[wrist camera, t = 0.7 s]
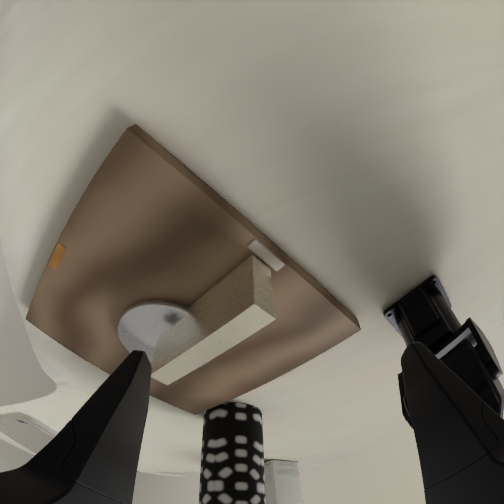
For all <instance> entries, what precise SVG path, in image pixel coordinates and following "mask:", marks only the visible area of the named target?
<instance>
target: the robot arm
mask: <svg viewBox="0 0 504 504" xmlns="http://www.w3.org/2000/svg"><path fill="white" fill-rule="evenodd" d="M384 316H385V318H386V319H387V320H388V321H389V322H390V324H391V325H392V326H393V327H394V328H395V329H396V330H397V331H398V332H399V334H400V335H401V336H402V337H403V338H404V341H405V343H406V345H407V348H406V350H405V351H404V353H403V355H402V357H401V366H402V372H401V373H400V374H398V380H399V389H400V396H401V404H402V412H403V416H404V418H405V420H406V421H407V422H408V423H409V425H410V426H411V427H412V428H413V429H414V433H415V438H416V443H417V448H418V453H419V459H420V465H421V470H422V477H423V483H424V489H425V491H424V492H425V500H426V504H504V419H503V410H504V389H503V387H502V385H501V383H500V381H499V379H498V377H499V376H500V375H501V374H502V370H501V367H500V365H499V362H498V360H497V358H496V355H495V353H494V350H493V348H492V346H491V345H490V343H489V341H488V340H487V338H486V337H485V335H484V333H483V332H482V331H481V329H480V328H479V327H478V326H477V325H476V324H475V323H474V321H473V320H472V319H471V318H470V317H469V318H468V319H467V320H466V321H465V323H464V324H463V325H462V326H461V324H460V323H459V321H458V319H457V318H456V316H455V314H454V313H453V311H452V310H451V304H450V302H449V300H448V298H447V295H446V293H445V291H444V289H443V287H442V285H441V283H440V281H439V279H438V278H437V277H436V276H435V275H434V276H431V277H430V278H429V279H427V280H426V281H425V282H424V283H422V284H421V285H420V286H418V287H417V288H416V289H414V290H413V291H412V292H410V293H409V294H408V295H406V296H405V297H403V298H402V299H401V300H399V301H398V302H396V303H395V304H394V305H392V306H391V307H389V308H388V309H386V310H385V311H384ZM476 344H477V345H476ZM475 345H476V346H475ZM151 373H152V367H151V364H150V361H149V359H148V357H147V354H146V353H145V352H144V351H140V350H133V351H132V352H131V353H130V354H129V355H128V356H127V357H126V358H125V359H124V360H123V362H122V363H121V364H120V365H119V366H118V367H117V368H116V369H115V370H114V372H113V373H112V374H111V375H110V376H109V377H108V378H107V379H106V380H105V382H104V383H103V384H102V385H101V386H100V387H99V388H98V389H97V391H96V392H95V393H94V394H93V395H92V396H91V397H90V398H89V400H88V401H87V402H86V403H85V404H84V405H83V406H82V407H81V409H80V410H79V411H78V412H77V413H76V414H75V415H74V417H73V418H72V420H70V421H69V422H68V423H67V424H66V426H65V427H64V428H63V429H62V430H61V431H60V432H59V433H58V434H57V435H56V437H54V438H53V439H52V440H51V441H50V442H49V443H48V444H47V445H46V446H45V447H44V448H43V449H42V450H41V451H40V452H38V453H37V454H36V455H35V456H34V457H33V458H32V459H31V460H30V461H29V462H27V463H26V464H25V465H23V466H21V467H20V468H17V469H14V470H10V471H6V472H1V473H0V504H132V499H133V492H134V485H135V478H136V472H137V466H138V460H139V454H140V449H141V443H142V438H143V433H144V427H145V422H146V417H147V412H148V404H149V393H150V382H151Z"/></svg>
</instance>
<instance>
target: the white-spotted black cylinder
mask: <svg viewBox="0 0 504 504" xmlns="http://www.w3.org/2000/svg"><path fill="white" fill-rule="evenodd" d="M199 504H266V496H265V474H264V452H263V430H262V413H261V411H260V410H259V409H258V408H256V407H254V406H251V405H247V404H242V403H222V404H220V405H218V406H215V407H213V408H211V409H208V410H206V411H204V423H203V438H202V454H201V472H200V493H199Z"/></svg>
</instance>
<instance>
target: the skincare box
mask: <svg viewBox="0 0 504 504" xmlns="http://www.w3.org/2000/svg"><path fill="white" fill-rule="evenodd" d="M264 474H265V496H266V504H304V502H303V495H302V487H301V480H300V472H299V465H298V462H295V461H280V460H270V461H267V462H264Z"/></svg>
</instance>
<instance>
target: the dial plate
mask: <svg viewBox="0 0 504 504" xmlns="http://www.w3.org/2000/svg"><path fill="white" fill-rule="evenodd" d="M251 255H253V256H255V257H256V258H257V259H258V260H260V261H261V262H262V263H263V264H264V265H266V266H267V267H268V268H269V269H270V271H271V280H272V288H273V297H274V306H275V315H276V319H275V320H274V321H272V322H271V323H269V324H268V325H266V326H265V327H263V328H262V329H260V330H259V331H257V332H255V333H254V334H252V335H251V336H249V337H248V338H246V339H244V340H243V341H241V342H240V343H238V344H237V345H235V346H233V347H232V348H230V349H228V350H227V351H225V352H224V353H222V354H220V355H219V356H217V357H215V358H214V359H212V360H211V361H210V362H209V363H207V364H206V365H204V366H202V367H200V368H197V369H195V370H193V371H192V372H190V373H188V374H187V375H185V376H183V377H181V378H180V379H178V380H176V381H174V382H173V383H171V384H169V385H166V384H164V383H162V382H160V381H158V380H156V379H154V378H152V377H151V382H150V393H149V395H151V396H153V397H155V398H158V399H160V400H162V401H164V402H166V403H169V404H171V405H173V406H176V407H178V408H180V409H183V410H185V411H188V412H190V413H193V414H195V415H196V414H198V413H201V412H203V411H206V410H208V409H211V408H213V407H215V406H218V405H220V404H222V403H225V402H227V401H229V400H231V399H234V398H236V397H238V396H240V395H242V394H245V393H247V392H249V391H251V390H253V389H255V388H257V387H259V386H261V385H263V384H266V383H268V382H270V381H272V380H274V379H275V378H277V377H279V376H281V375H283V374H285V373H287V372H289V371H291V370H293V369H295V368H296V367H298V366H300V365H302V364H304V363H306V362H307V361H309V360H311V359H313V358H315V357H316V356H318V355H320V354H322V353H323V352H325V351H327V350H328V349H330V348H332V347H334V346H335V345H337V344H339V343H340V342H342V341H343V340H345V339H347V338H348V337H350V336H352V335H353V334H355V333H356V332H358V331H359V330H361V328H360V325H359V323H358V320H357V318H356V317H355V316H354V315H353V314H352V313H351V312H350V311H349V310H348V309H346V308H345V307H344V306H343V305H342V304H341V303H340V302H339V301H338V300H337V299H336V298H334V297H333V296H332V295H331V294H330V293H329V292H328V291H327V290H326V289H325V288H323V287H322V286H321V285H320V284H319V283H318V282H317V281H316V280H315V279H314V278H312V277H311V276H310V275H309V274H308V273H307V272H306V271H305V270H304V269H302V268H301V267H300V266H299V265H298V264H297V263H296V262H295V261H294V260H292V259H291V258H290V257H289V256H288V255H287V254H286V253H285V252H284V251H282V250H281V249H280V248H279V247H278V246H277V245H276V244H275V243H273V242H272V241H271V240H270V239H269V238H268V237H267V236H266V235H264V234H263V233H262V232H261V231H260V230H259V229H258V228H256V227H255V226H254V225H253V224H252V223H251V222H250V221H248V220H247V219H246V218H245V217H244V216H243V215H242V214H240V213H239V212H238V211H237V210H236V209H235V208H234V207H232V206H231V205H230V204H229V203H228V202H227V201H226V200H224V199H223V198H222V197H221V196H220V195H219V194H217V193H216V192H215V191H214V190H213V189H212V188H210V187H209V186H208V185H207V184H206V183H205V182H203V181H202V180H201V179H200V178H199V177H198V176H196V175H195V174H194V173H193V172H192V171H191V170H189V169H188V168H187V167H186V166H185V165H184V164H182V163H181V162H180V161H179V160H178V159H176V158H175V157H174V156H173V155H172V154H171V153H169V152H168V151H167V150H166V149H165V148H163V147H162V146H161V145H160V144H159V143H157V142H156V141H155V140H154V139H153V138H151V137H150V136H149V135H148V134H147V133H145V132H144V131H143V130H142V129H141V128H139V127H138V126H137V125H136V124H135V125H133V126H131V127H129V128H127V129H126V131H125V132H124V133H123V135H122V136H121V138H120V139H119V140H118V142H117V143H116V145H115V146H114V147H113V149H112V150H111V152H110V153H109V155H108V156H107V158H106V159H105V161H104V162H103V164H102V165H101V167H100V168H99V170H98V171H97V173H96V174H95V176H94V178H93V179H92V181H91V182H90V184H89V186H88V187H87V189H86V191H85V192H84V194H83V196H82V197H81V199H80V201H79V203H78V204H77V206H76V208H75V210H74V212H73V213H72V215H71V217H70V219H69V221H68V223H67V225H66V226H65V228H64V230H63V232H62V234H61V236H60V238H59V240H58V242H57V244H56V246H55V248H54V251H53V253H52V255H51V257H50V259H49V261H48V264H47V266H46V268H45V270H44V273H43V275H42V277H41V280H40V282H39V285H38V287H37V290H36V292H35V295H34V297H33V300H32V303H31V305H30V308H29V311H28V314H27V317H26V320H28V321H29V322H30V323H32V324H33V325H34V326H36V327H37V328H38V329H40V330H41V331H42V332H44V333H45V334H47V335H48V336H49V337H51V338H52V339H54V340H55V341H57V342H58V343H60V344H61V345H63V346H64V347H66V348H67V349H69V350H70V351H72V352H73V353H75V354H77V355H78V356H80V357H81V358H83V359H85V360H86V361H88V362H90V363H91V364H93V365H95V366H96V367H98V368H100V369H101V370H103V371H105V372H107V373H108V374H110V375H111V374H112V373H113V372H114V370H115V369H116V368H117V367H118V366H119V365H120V364H121V363H122V362H123V360H124V359H125V358H126V357H127V356H128V355H129V354H130V352H129V351H128V350H127V349H126V348H125V347H124V345H123V344H122V342H121V340H120V338H119V335H118V324H119V321H120V319H121V316H122V314H123V312H124V311H125V310H126V309H127V308H128V307H129V306H131V305H133V304H135V303H137V302H141V301H145V300H166V301H172V302H175V303H179V304H182V305H185V306H187V307H189V306H191V305H192V304H193V303H194V302H195V301H197V300H198V299H199V298H200V297H202V296H203V295H204V294H205V293H206V292H208V291H209V290H210V289H211V288H212V287H214V286H215V285H216V284H217V283H219V282H220V281H221V280H222V279H223V278H225V277H226V276H227V275H228V274H229V273H231V272H232V271H233V270H234V269H235V268H237V267H238V266H239V265H240V264H242V263H243V262H244V261H245V260H246V259H248V258H249V257H250V256H251Z"/></svg>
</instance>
